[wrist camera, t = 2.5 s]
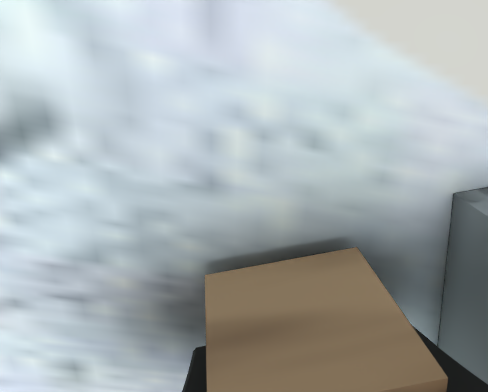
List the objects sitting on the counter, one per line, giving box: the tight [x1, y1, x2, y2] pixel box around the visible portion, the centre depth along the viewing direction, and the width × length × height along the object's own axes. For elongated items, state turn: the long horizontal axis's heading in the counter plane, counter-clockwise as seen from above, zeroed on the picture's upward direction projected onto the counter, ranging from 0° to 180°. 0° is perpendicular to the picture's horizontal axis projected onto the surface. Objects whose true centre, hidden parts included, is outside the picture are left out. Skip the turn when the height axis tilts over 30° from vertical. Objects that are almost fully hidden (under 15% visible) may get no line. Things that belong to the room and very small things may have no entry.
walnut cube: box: [205, 247, 448, 392], centre depth 11 cm, size 5×5×5 cm
